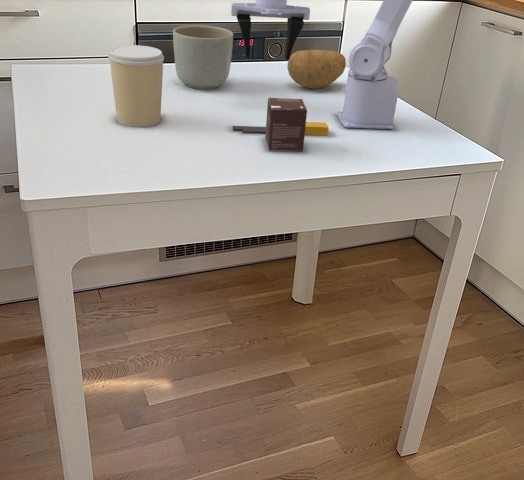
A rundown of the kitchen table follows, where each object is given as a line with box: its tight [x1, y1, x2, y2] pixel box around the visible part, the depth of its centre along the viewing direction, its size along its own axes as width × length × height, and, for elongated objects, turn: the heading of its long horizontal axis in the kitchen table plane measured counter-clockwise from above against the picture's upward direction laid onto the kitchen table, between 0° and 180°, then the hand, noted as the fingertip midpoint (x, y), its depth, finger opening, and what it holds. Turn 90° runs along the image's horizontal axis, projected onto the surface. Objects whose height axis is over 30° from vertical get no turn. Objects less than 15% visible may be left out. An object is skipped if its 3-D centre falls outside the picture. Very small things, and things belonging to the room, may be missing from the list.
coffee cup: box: [108, 44, 165, 128], centre depth 113 cm, size 9×9×12 cm
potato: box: [287, 49, 347, 90], centre depth 140 cm, size 10×14×8 cm
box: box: [264, 97, 308, 152], centre depth 108 cm, size 6×6×7 cm
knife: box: [232, 121, 330, 137], centre depth 116 cm, size 17×3×2 cm, turn 96°
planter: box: [172, 24, 234, 90], centre depth 135 cm, size 12×12×11 cm
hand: (267, 57), depth 123 cm, fingers open, 7 cm apart
